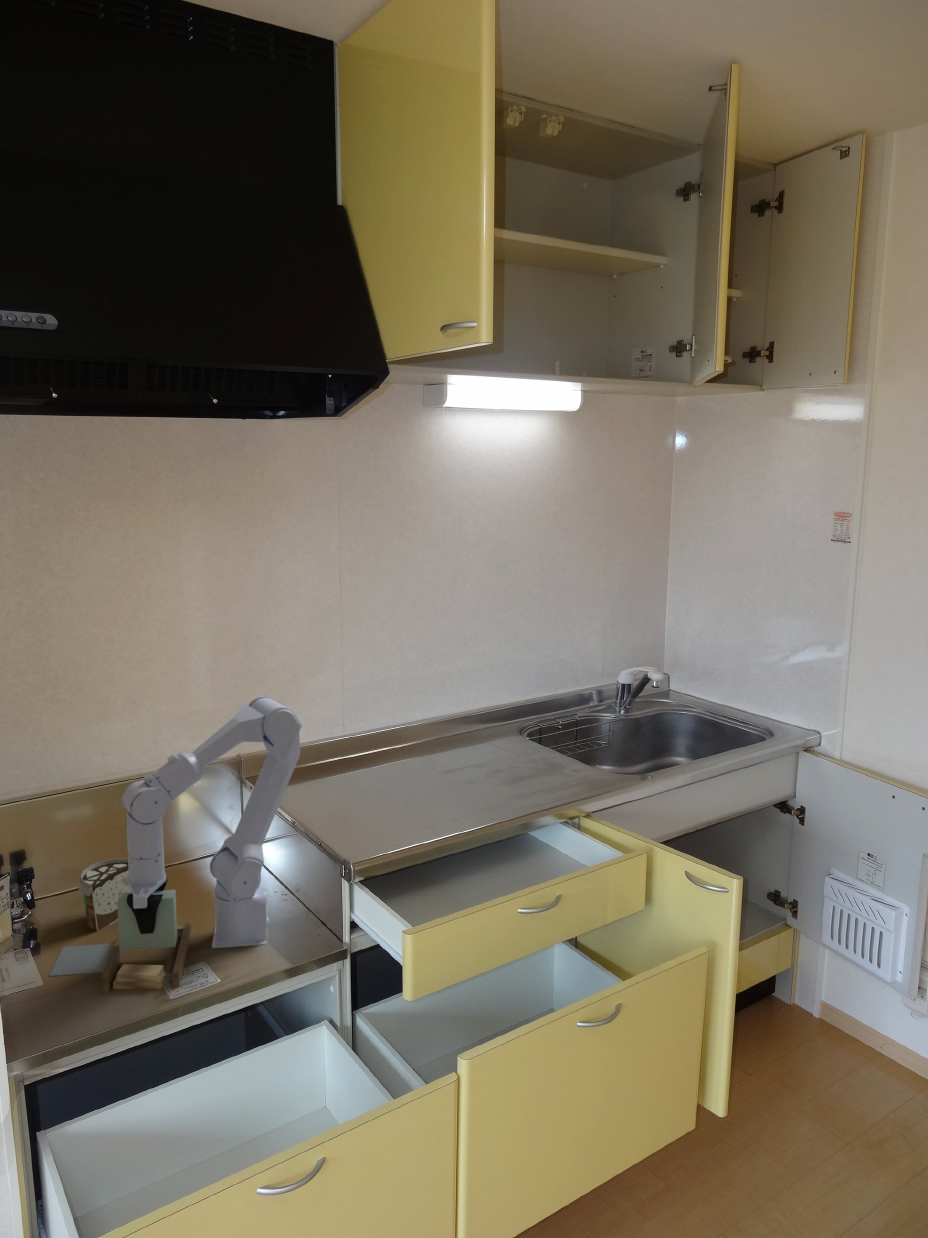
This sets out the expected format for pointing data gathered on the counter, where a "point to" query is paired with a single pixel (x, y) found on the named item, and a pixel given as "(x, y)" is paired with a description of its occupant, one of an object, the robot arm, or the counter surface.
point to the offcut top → (140, 973)
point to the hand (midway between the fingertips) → (149, 927)
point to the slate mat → (82, 960)
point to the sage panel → (163, 928)
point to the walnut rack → (178, 966)
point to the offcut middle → (139, 984)
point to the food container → (103, 891)
